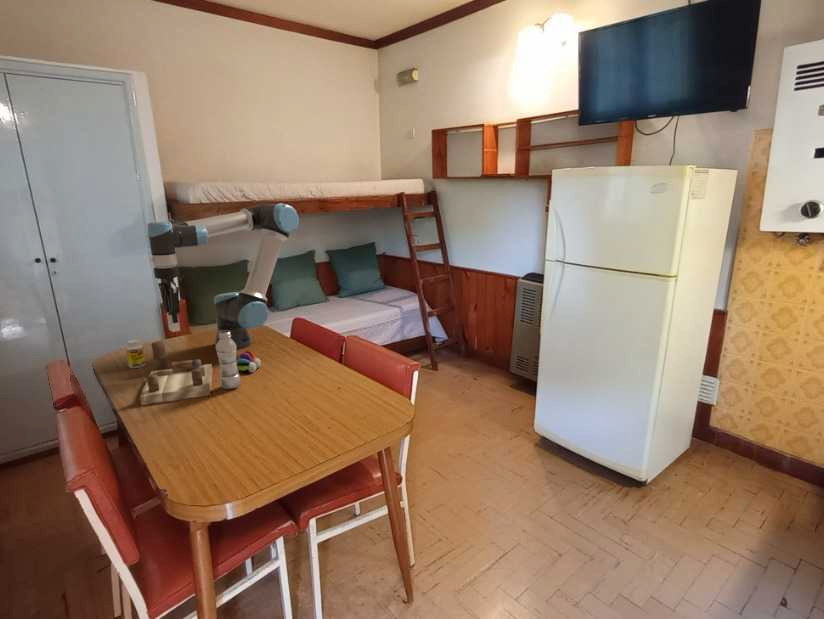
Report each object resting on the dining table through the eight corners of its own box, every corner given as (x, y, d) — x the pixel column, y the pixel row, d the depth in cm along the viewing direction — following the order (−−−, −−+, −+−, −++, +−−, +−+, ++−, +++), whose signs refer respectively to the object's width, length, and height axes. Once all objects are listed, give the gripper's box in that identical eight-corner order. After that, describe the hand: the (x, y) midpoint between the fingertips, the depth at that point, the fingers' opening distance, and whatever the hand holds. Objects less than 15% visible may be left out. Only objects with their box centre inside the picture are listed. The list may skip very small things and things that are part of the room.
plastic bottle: (234, 392, 154) (228, 335, 149) (216, 390, 155) (209, 334, 150) (245, 384, 160) (239, 329, 155) (227, 382, 162) (221, 328, 157)
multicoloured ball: (263, 365, 178) (261, 347, 176) (252, 375, 168) (250, 356, 167) (242, 364, 179) (240, 347, 177) (230, 374, 169) (228, 356, 167)
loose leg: (168, 368, 176) (164, 340, 173) (167, 371, 172) (162, 344, 169) (156, 369, 174) (152, 342, 171) (155, 373, 171) (150, 345, 168)
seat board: (212, 371, 172) (210, 351, 170) (209, 395, 152) (207, 372, 150) (152, 379, 165) (149, 358, 163) (141, 405, 145) (137, 381, 143)
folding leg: (201, 366, 168) (200, 358, 167) (201, 368, 166) (200, 361, 165) (173, 369, 165) (172, 362, 164) (172, 372, 163) (171, 364, 162)
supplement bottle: (131, 369, 174) (127, 344, 172) (127, 365, 178) (123, 340, 175) (147, 365, 178) (143, 340, 175) (143, 362, 182) (139, 337, 179)
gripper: (146, 265, 164) (156, 328, 170) (161, 270, 154) (171, 337, 159) (169, 262, 169) (177, 324, 175) (184, 267, 159) (193, 332, 165)
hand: (174, 330), depth 167 cm, fingers open, 2 cm apart
